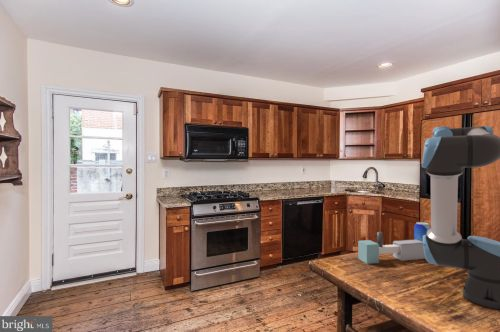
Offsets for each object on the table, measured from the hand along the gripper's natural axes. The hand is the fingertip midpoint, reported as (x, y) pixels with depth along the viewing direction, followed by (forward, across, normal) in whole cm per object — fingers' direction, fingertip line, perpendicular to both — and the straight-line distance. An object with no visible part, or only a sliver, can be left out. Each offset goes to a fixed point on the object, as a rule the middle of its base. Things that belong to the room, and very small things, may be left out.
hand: (442, 202), depth 142 cm
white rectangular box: (+32, +10, -12) cm, 36 cm away
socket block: (+32, +34, -12) cm, 49 cm away
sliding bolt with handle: (+29, +25, -12) cm, 40 cm away
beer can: (+33, -9, -23) cm, 41 cm away
